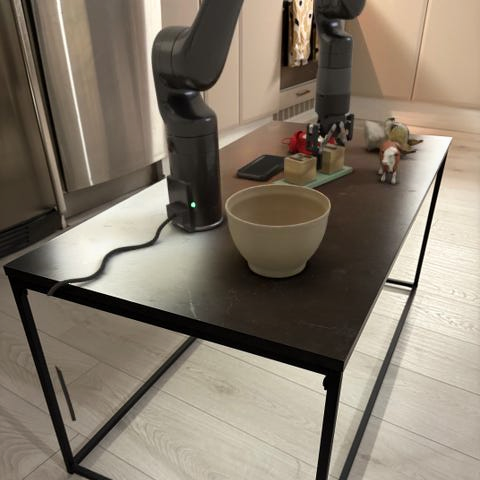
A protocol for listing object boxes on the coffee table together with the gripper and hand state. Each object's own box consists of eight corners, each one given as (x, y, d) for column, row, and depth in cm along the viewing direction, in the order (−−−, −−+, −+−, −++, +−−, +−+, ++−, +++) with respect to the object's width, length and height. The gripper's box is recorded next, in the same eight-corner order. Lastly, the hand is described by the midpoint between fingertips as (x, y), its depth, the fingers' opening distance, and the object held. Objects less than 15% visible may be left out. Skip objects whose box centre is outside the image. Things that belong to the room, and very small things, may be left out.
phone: (234, 172, 118) (264, 153, 129) (235, 176, 119) (264, 158, 129) (264, 176, 115) (292, 157, 125) (264, 181, 115) (292, 162, 126)
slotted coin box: (329, 174, 115) (331, 151, 112) (312, 169, 118) (314, 147, 115) (343, 168, 118) (345, 146, 115) (326, 164, 121) (328, 142, 118)
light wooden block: (300, 185, 110) (301, 162, 107) (283, 180, 113) (284, 157, 110) (315, 179, 113) (316, 156, 110) (298, 174, 116) (299, 151, 113)
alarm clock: (338, 143, 126) (281, 126, 127) (331, 167, 130) (276, 150, 131) (344, 132, 134) (290, 116, 136) (336, 155, 138) (284, 139, 139)
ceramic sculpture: (371, 108, 133) (429, 117, 127) (365, 141, 138) (421, 151, 132) (359, 118, 125) (421, 128, 120) (354, 153, 130) (412, 163, 125)
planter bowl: (208, 266, 84) (203, 204, 78) (273, 234, 93) (274, 177, 87) (280, 302, 74) (281, 235, 68) (345, 263, 83) (352, 200, 77)
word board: (295, 195, 108) (295, 190, 108) (272, 187, 113) (272, 182, 112) (352, 171, 119) (352, 167, 119) (329, 165, 124) (329, 161, 123)
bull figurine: (375, 188, 110) (380, 151, 105) (377, 168, 121) (381, 133, 116) (396, 189, 109) (402, 151, 105) (396, 169, 120) (401, 134, 115)
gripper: (340, 82, 114) (334, 154, 124) (298, 92, 106) (295, 169, 116) (367, 86, 110) (359, 161, 119) (325, 97, 102) (320, 176, 111)
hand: (328, 164), depth 117 cm, fingers open, 7 cm apart
